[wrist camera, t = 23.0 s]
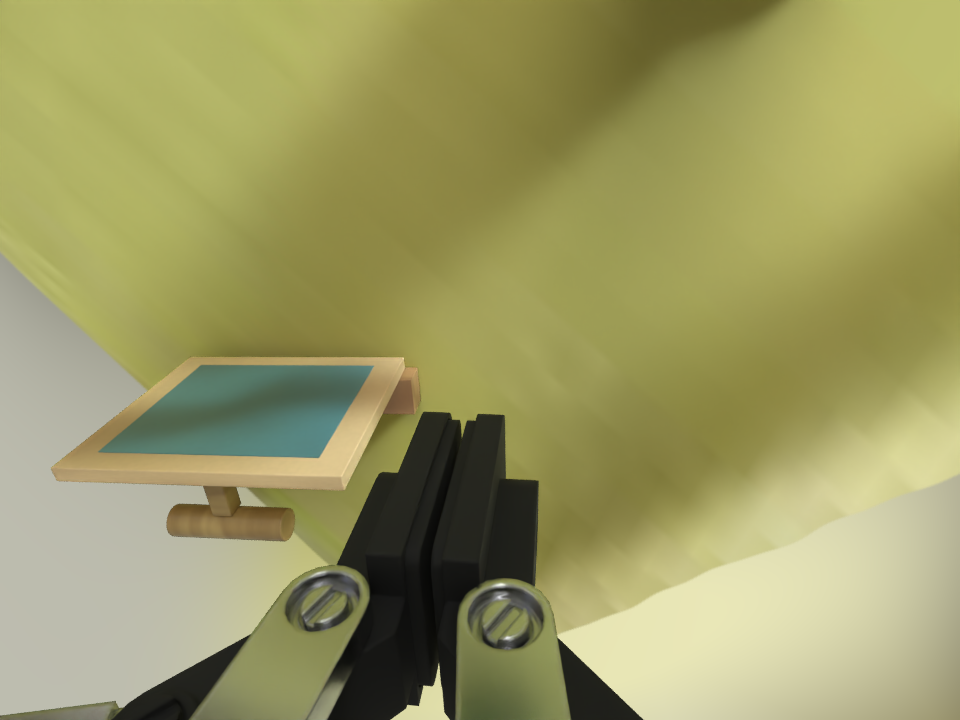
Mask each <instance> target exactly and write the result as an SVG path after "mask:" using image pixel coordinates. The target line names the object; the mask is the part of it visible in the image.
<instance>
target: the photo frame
mask: <svg viewBox="0 0 960 720" xmlns="http://www.w3.org/2000/svg"><path fill="white" fill-rule="evenodd" d="M404 369H405V364H404V358H403V357H190V358H188V359H187V360H186V361H185V362H183V363H182V364H181V365H180V366H178V367H177V368H176V369H175V370H173V371H172V372H171V373H170V374H168V375H167V376H166V377H164V378H163V379H162V380H161V381H159V382H158V383H157V384H156V385H154V386H153V387H152V388H151V389H149V390H148V391H147V392H146V393H144V394H143V395H142V396H141V397H139V398H138V399H137V400H136V401H134V402H133V403H132V404H131V405H129V406H128V407H127V408H125V409H124V410H123V411H122V412H120V413H119V414H118V415H117V416H116V417H114V418H113V419H112V420H110V421H109V422H108V423H107V424H105V425H104V426H103V427H102V428H100V429H99V430H98V431H97V432H95V433H94V434H93V435H91V436H90V437H89V438H88V439H86V440H85V441H84V442H83V443H81V444H80V445H79V446H78V447H76V448H75V449H74V450H73V451H71V452H70V453H69V454H68V455H66V456H65V457H64V458H62V459H61V460H60V461H59V462H57V463H56V464H55V465H54V466H52V467H51V470H52V472H53V474H54V476H55V478H56V480H57V481H72V482H103V483H132V484H161V485H193V486H203V487H204V490H205V493H206V496H207V499H208V502H209V505H200V504H198V505H197V504H177V505H175V506H174V507H173V508H172V509H171V510H170V512H169V515H168V517H167V530H168V533H169V534H170V535H172V536H178V537H199V538H222V539H243V540H265V541H287V540H289V538H290V537H291V535H292V533H293V530H294V525H295V515H294V512H293V510H292V509H291V508H280V507H253V506H240V504H241V501H240V498H239V495H238V492H237V488H236V487H252V488H282V489H312V490H342V491H343V490H345V488H346V486H347V484H348V482H349V480H350V478H351V476H352V474H353V472H354V470H355V468H356V466H357V464H358V462H359V460H360V458H361V456H362V454H363V452H364V450H365V448H366V446H367V444H368V442H369V440H370V438H371V436H372V434H373V432H374V430H375V428H376V426H377V424H378V422H379V420H380V418H381V416H382V414H383V412H384V410H385V408H386V406H387V404H388V402H389V400H390V398H391V396H392V394H393V392H394V390H395V388H396V386H397V384H398V382H399V379H400V377H401V375H402V373H403V371H404Z"/></svg>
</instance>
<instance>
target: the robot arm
mask: <svg viewBox="0 0 960 720" xmlns="http://www.w3.org/2000/svg"><path fill="white" fill-rule="evenodd" d="M538 487H539V483H538V481H536V480H517V479H506V461H505V416H504V415H492V414H478V415H477V418H476V421H469V420H468V421H467V423H466V426H465V430H464V433H463V437H462V436H461V423H460V420H452V417H451V414H450V413H443V412H423V414H422V416H421V418H420V420H419V423H418V425H417V428H416V430H415V433H414V435H413V438H412V440H411V442H410V445H409V447H408V450H407V452H406V455H405V457H404V459H403V462H402V464H401V467H400V469H399V472H398V473H389V472H382V473H380V474H379V475H378V477H377V478H376V480H375V483H374V485H373V487H372V489H371V491H370V493H369V496H368V498H367V500H366V502H365V504H364V506H363V509H362V511H361V513H360V515H359V517H358V520H357V522H356V524H355V526H354V528H353V530H352V533H351V535H350V537H349V539H348V541H347V544H346V546H345V548H344V550H343V552H342V554H341V557H340V559H339V561H338V563H337V565H329V566H323V567H318V568H315V569H313V570H310V571H308V572H305V573H304V574H302V575H300V576H299V577H298V578H296V579H294V580H293V581H292V582H291V583H290V584H289V585H288V586H287V587H286V588H285V589H284V590H283V591H282V593H281V594H280V595H279V597H278V598H277V600H276V601H275V602H274V604H273V605H272V606H271V608H270V609H269V610H268V612H267V613H266V615H265V616H264V617H263V619H262V620H261V622H260V623H259V624H258V626H257V627H256V628H255V630H254V631H253V633H252V634H250V635H249V636H247V637H245V638H243V639H241V640H239V641H238V642H236V643H234V644H232V645H230V646H228V647H227V648H225V649H223V650H221V651H219V652H217V653H216V654H214V655H212V656H210V657H208V658H207V659H205V660H203V661H201V662H199V663H197V664H195V665H194V666H192V667H190V668H188V669H186V670H184V671H183V672H181V673H179V674H177V675H175V676H174V677H172V678H170V679H168V680H166V681H165V682H163V683H161V684H159V685H157V686H155V687H153V688H152V689H150V690H148V691H146V692H144V693H143V694H142V695H140V696H138V697H137V698H136V699H134V700H133V701H131V702H130V703H128V704H127V705H126V706H125V707H124V708H119V707H118V705H117V704H116V701H112V702H104V703H96V704H88V705H80V706H73V707H65V708H57V709H49V710H41V711H33V712H25V713H17V714H10V715H2V716H0V720H390V719H392V718H393V717H394V716H396V715H398V714H399V713H400V712H402V711H403V710H404V709H406V707H407V705H415V706H419V703H420V699H421V694H422V690H423V685H425V686H433V685H434V682H435V678H436V674H437V669H438V664H439V666H440V677H441V685H442V690H443V701H444V712H445V714H446V715H447V716H448V718H449V719H450V720H643V719H642V718H641V717H640V716H639V715H638V714H637V713H636V712H635V711H634V710H633V709H632V708H630V707H629V706H628V705H627V704H626V703H625V702H624V701H623V700H622V699H621V698H620V697H619V696H618V695H617V694H616V693H615V692H614V691H613V690H612V689H611V688H610V687H609V686H608V685H607V684H605V683H604V682H603V681H602V680H601V679H600V678H599V677H598V676H597V675H596V674H595V673H594V672H593V671H592V670H591V669H590V668H589V667H588V666H587V665H586V664H585V663H584V662H582V661H581V660H580V659H579V658H578V657H577V656H576V655H575V654H574V653H573V652H572V651H571V650H570V649H569V648H568V647H567V646H566V645H565V644H564V643H563V642H562V641H561V640H560V639H558V638H557V632H556V626H555V620H554V614H553V611H552V608H551V606H550V603H549V601H548V600H547V598H546V597H545V596H544V595H543V593H542V592H541V591H540V590H538V589H537V588H535V576H536V556H537V531H538Z"/></svg>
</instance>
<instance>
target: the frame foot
mask: <svg viewBox="0 0 960 720" xmlns="http://www.w3.org/2000/svg"><path fill="white" fill-rule="evenodd" d="M420 401H421V397H420V388H419V379H418V370H417V368H414V367H405V369H404V371H403V373H402V375H401V377H400V379H399V382H398V384H397V386H396V388H395V390H394V392H393V394H392V396H391V398H390V400H389V402H388V404H387V406H386V408H385V410H384V412H383V414H415V413H416V410H417V408H418V406H419V403H420Z"/></svg>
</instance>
